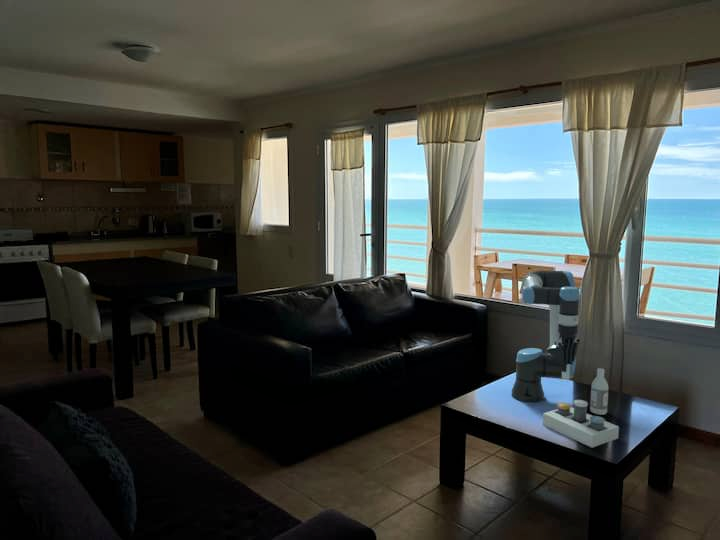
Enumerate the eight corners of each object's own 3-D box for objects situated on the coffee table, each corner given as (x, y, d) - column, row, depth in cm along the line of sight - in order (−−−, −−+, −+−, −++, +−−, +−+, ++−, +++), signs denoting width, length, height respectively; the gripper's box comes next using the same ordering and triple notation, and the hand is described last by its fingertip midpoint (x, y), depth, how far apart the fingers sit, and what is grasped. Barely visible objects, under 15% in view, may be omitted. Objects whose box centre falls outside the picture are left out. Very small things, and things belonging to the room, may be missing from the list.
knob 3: (586, 436, 206) (587, 417, 205) (594, 433, 208) (595, 414, 207) (597, 441, 201) (599, 422, 200) (606, 438, 204) (607, 419, 203)
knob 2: (570, 419, 212) (571, 401, 211) (578, 417, 215) (579, 399, 214) (580, 424, 208) (581, 405, 207) (589, 421, 210) (590, 403, 209)
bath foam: (601, 416, 226) (603, 372, 224) (586, 411, 232) (589, 368, 230) (610, 412, 230) (612, 369, 228) (595, 407, 236) (598, 365, 233)
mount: (542, 424, 218) (543, 413, 218) (568, 416, 226) (568, 406, 225) (591, 447, 198) (592, 435, 197) (618, 438, 205) (618, 426, 205)
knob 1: (554, 421, 220) (554, 404, 219) (562, 419, 222) (563, 401, 221) (564, 426, 215) (565, 408, 214) (572, 423, 218) (573, 405, 217)
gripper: (564, 327, 207) (562, 384, 210) (586, 324, 213) (583, 378, 216) (550, 324, 213) (547, 378, 216) (571, 320, 219) (568, 373, 223)
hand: (565, 378), depth 216 cm, fingers closed
